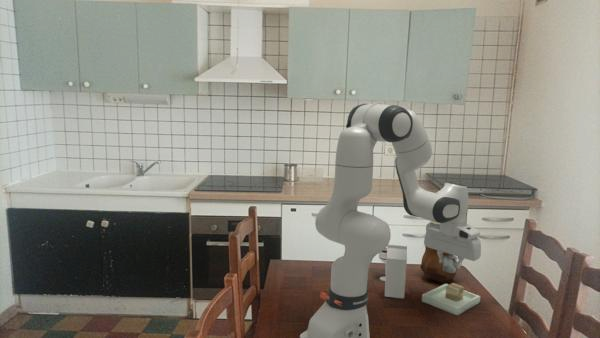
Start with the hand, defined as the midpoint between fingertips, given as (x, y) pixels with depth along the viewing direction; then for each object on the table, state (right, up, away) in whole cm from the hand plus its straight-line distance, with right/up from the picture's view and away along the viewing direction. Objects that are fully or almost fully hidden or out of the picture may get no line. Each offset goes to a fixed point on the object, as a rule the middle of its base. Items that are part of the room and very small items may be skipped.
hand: (449, 265), depth 155 cm
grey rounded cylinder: (0, -2, 0) cm, 2 cm away
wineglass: (-18, -11, +24) cm, 32 cm away
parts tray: (+2, -14, +4) cm, 15 cm away
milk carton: (-18, -13, +10) cm, 24 cm away
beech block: (+4, -13, +6) cm, 15 cm away
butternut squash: (+3, -12, +24) cm, 27 cm away
